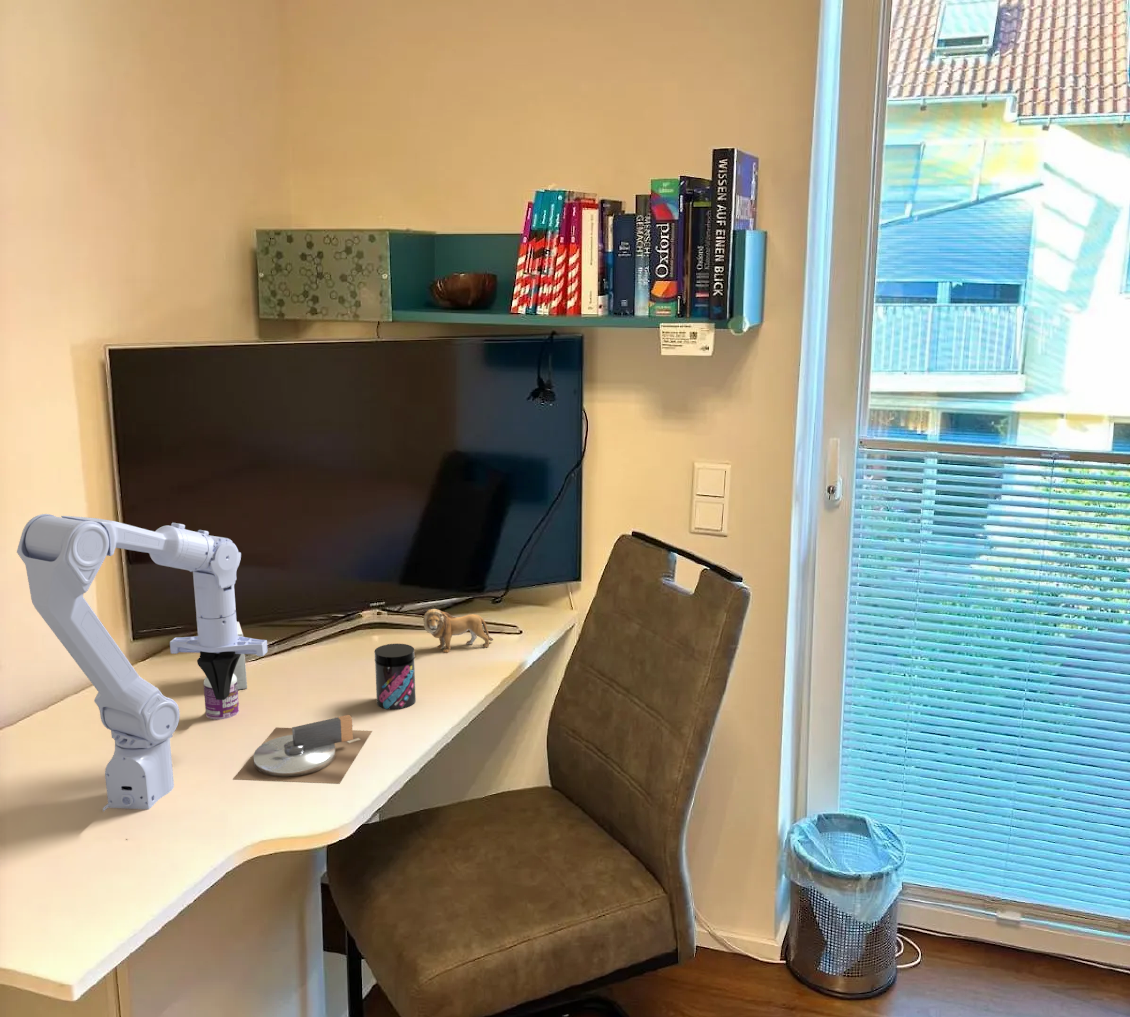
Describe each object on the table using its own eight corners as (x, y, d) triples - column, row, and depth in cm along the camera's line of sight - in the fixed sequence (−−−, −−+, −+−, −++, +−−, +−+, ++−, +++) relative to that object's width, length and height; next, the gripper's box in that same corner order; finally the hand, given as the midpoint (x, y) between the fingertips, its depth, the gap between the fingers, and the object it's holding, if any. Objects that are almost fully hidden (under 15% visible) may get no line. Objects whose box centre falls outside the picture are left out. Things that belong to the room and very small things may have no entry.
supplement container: (369, 712, 180) (367, 654, 178) (387, 697, 186) (384, 641, 184) (406, 717, 178) (404, 659, 176) (422, 702, 184) (420, 645, 182)
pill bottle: (229, 726, 175) (225, 671, 173) (200, 723, 176) (195, 669, 174) (245, 713, 180) (241, 659, 178) (217, 710, 181) (212, 657, 179)
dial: (266, 783, 152) (264, 753, 151) (244, 752, 162) (242, 723, 161) (365, 759, 160) (364, 730, 159) (338, 730, 170) (337, 702, 169)
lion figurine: (429, 658, 205) (428, 614, 203) (420, 650, 210) (418, 607, 208) (498, 646, 212) (497, 603, 210) (487, 638, 217) (486, 596, 215)
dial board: (339, 789, 153) (339, 782, 153) (233, 785, 154) (232, 778, 154) (372, 736, 171) (372, 730, 170) (276, 733, 172) (275, 726, 172)
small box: (247, 689, 190) (243, 633, 188) (215, 693, 188) (210, 637, 186) (243, 674, 197) (239, 620, 195) (212, 678, 195) (207, 624, 193)
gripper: (272, 606, 163) (277, 688, 166) (181, 603, 164) (188, 685, 167) (255, 620, 156) (261, 706, 159) (160, 618, 157) (168, 703, 160)
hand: (222, 697), depth 163 cm, fingers closed
